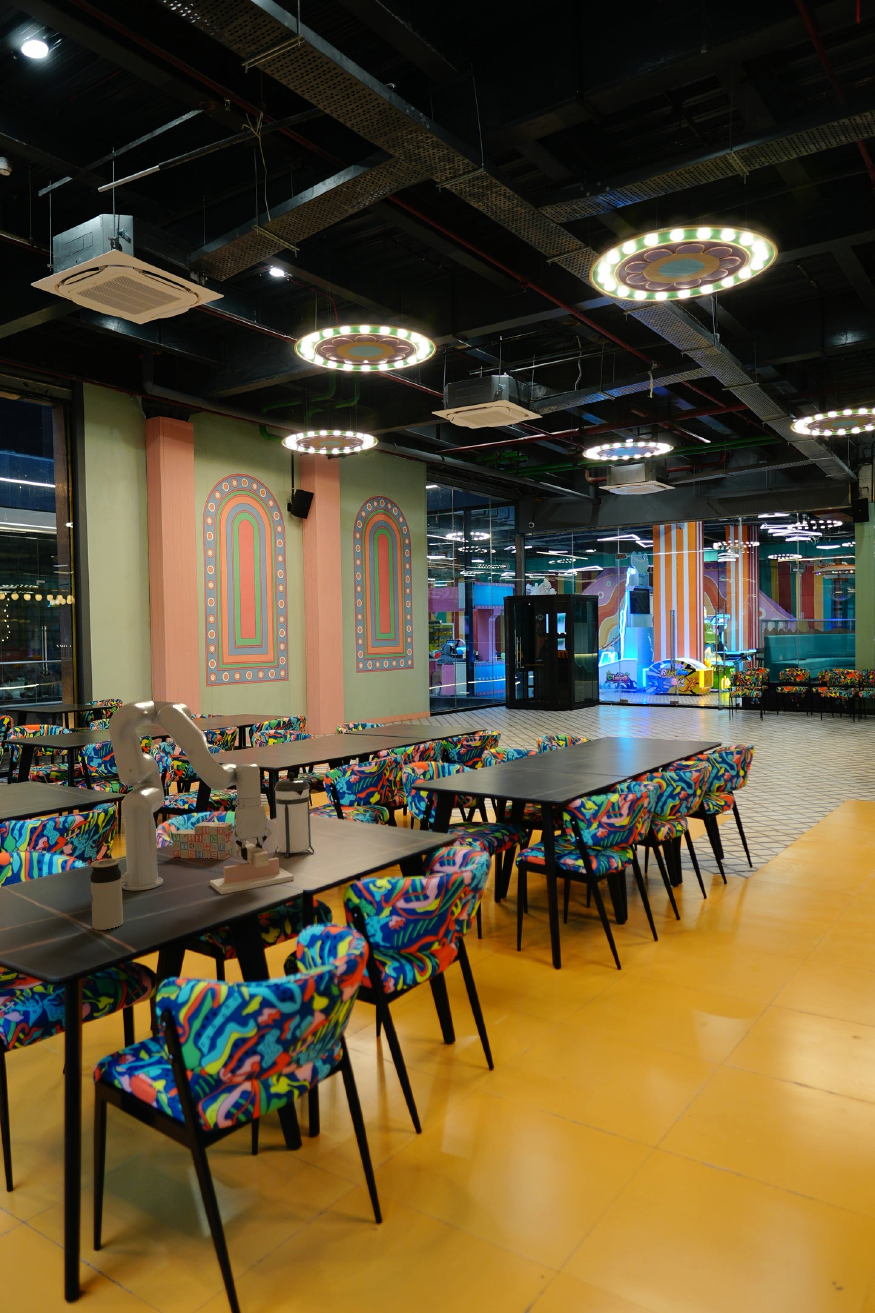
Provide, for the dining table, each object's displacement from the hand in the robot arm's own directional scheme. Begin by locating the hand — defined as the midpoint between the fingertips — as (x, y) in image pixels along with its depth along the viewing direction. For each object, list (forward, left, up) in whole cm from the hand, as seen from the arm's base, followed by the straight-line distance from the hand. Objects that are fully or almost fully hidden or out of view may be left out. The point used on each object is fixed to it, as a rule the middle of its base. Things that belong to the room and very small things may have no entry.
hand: (251, 857), depth 270 cm
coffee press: (+25, +28, -8) cm, 38 cm away
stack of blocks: (-3, +45, -9) cm, 46 cm away
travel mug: (-47, -15, -8) cm, 50 cm away
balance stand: (0, 0, -8) cm, 8 cm away
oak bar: (0, 0, -1) cm, 1 cm away
